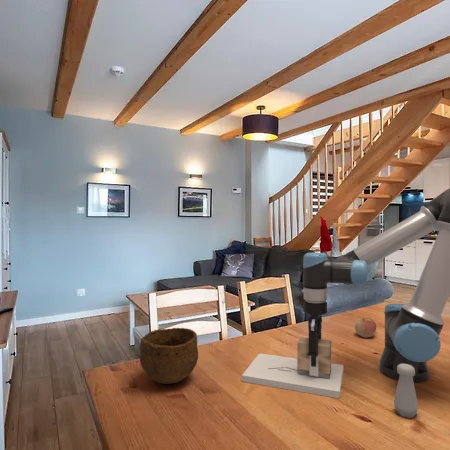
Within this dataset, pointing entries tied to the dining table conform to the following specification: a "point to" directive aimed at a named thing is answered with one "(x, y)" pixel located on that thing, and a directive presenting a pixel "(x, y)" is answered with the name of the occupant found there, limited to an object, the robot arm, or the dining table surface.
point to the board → (292, 376)
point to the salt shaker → (406, 392)
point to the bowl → (169, 354)
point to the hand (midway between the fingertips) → (315, 371)
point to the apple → (365, 327)
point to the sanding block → (323, 357)
